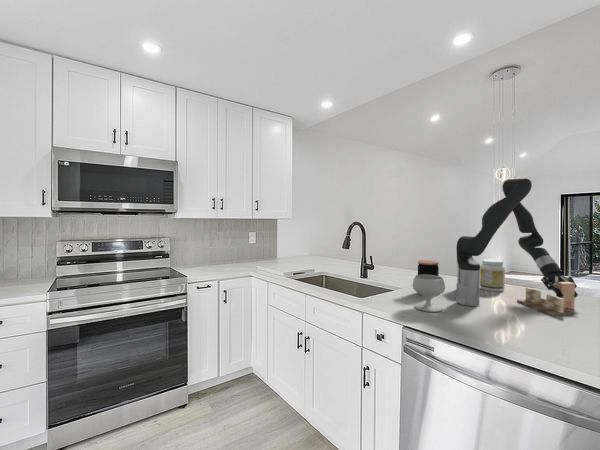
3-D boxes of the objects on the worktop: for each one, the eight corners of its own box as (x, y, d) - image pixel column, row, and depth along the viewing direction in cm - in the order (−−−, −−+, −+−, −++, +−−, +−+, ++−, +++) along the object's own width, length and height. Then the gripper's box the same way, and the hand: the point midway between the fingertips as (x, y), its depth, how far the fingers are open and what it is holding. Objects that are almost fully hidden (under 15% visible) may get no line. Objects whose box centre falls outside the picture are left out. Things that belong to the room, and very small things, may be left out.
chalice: (451, 310, 139) (451, 277, 138) (432, 315, 132) (432, 281, 131) (424, 302, 151) (425, 272, 150) (406, 307, 144) (406, 275, 143)
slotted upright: (555, 307, 143) (556, 282, 142) (568, 307, 143) (569, 281, 142) (561, 309, 140) (562, 283, 139) (574, 309, 140) (575, 283, 139)
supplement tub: (484, 285, 185) (484, 258, 185) (507, 289, 176) (508, 260, 175) (476, 289, 177) (477, 260, 177) (500, 293, 168) (501, 262, 167)
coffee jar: (441, 296, 161) (442, 263, 161) (421, 296, 162) (422, 263, 161) (433, 291, 172) (433, 260, 171) (414, 291, 172) (414, 260, 172)
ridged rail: (517, 301, 151) (517, 287, 151) (536, 301, 151) (537, 287, 151) (550, 315, 131) (551, 299, 131) (573, 315, 131) (573, 298, 131)
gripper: (538, 262, 148) (558, 292, 136) (567, 262, 148) (589, 292, 137) (529, 271, 153) (548, 301, 142) (557, 271, 154) (578, 300, 142)
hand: (568, 296), depth 139 cm, fingers closed on slotted upright, 6 cm apart
